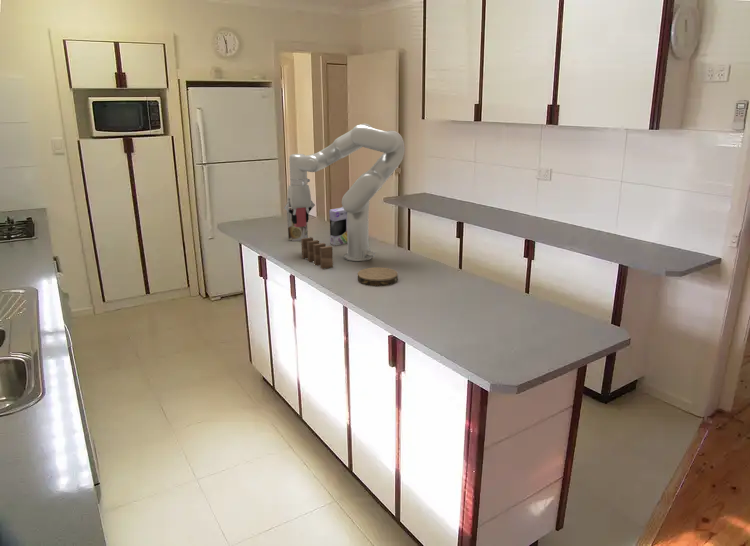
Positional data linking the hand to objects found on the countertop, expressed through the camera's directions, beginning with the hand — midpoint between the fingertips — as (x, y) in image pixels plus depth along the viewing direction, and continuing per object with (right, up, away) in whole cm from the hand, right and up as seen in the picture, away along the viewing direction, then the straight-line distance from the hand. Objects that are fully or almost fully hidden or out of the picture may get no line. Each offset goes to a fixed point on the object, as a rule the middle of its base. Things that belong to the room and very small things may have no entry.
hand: (300, 222), depth 246 cm
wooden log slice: (+35, -26, -30) cm, 53 cm away
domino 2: (+7, -18, -5) cm, 20 cm away
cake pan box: (+20, -8, +27) cm, 34 cm away
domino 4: (+13, -21, -14) cm, 29 cm away
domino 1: (+4, -16, 0) cm, 17 cm away
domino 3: (+10, -19, -10) cm, 24 cm away
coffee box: (-5, -6, +32) cm, 33 cm away
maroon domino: (0, -2, +1) cm, 2 cm away
